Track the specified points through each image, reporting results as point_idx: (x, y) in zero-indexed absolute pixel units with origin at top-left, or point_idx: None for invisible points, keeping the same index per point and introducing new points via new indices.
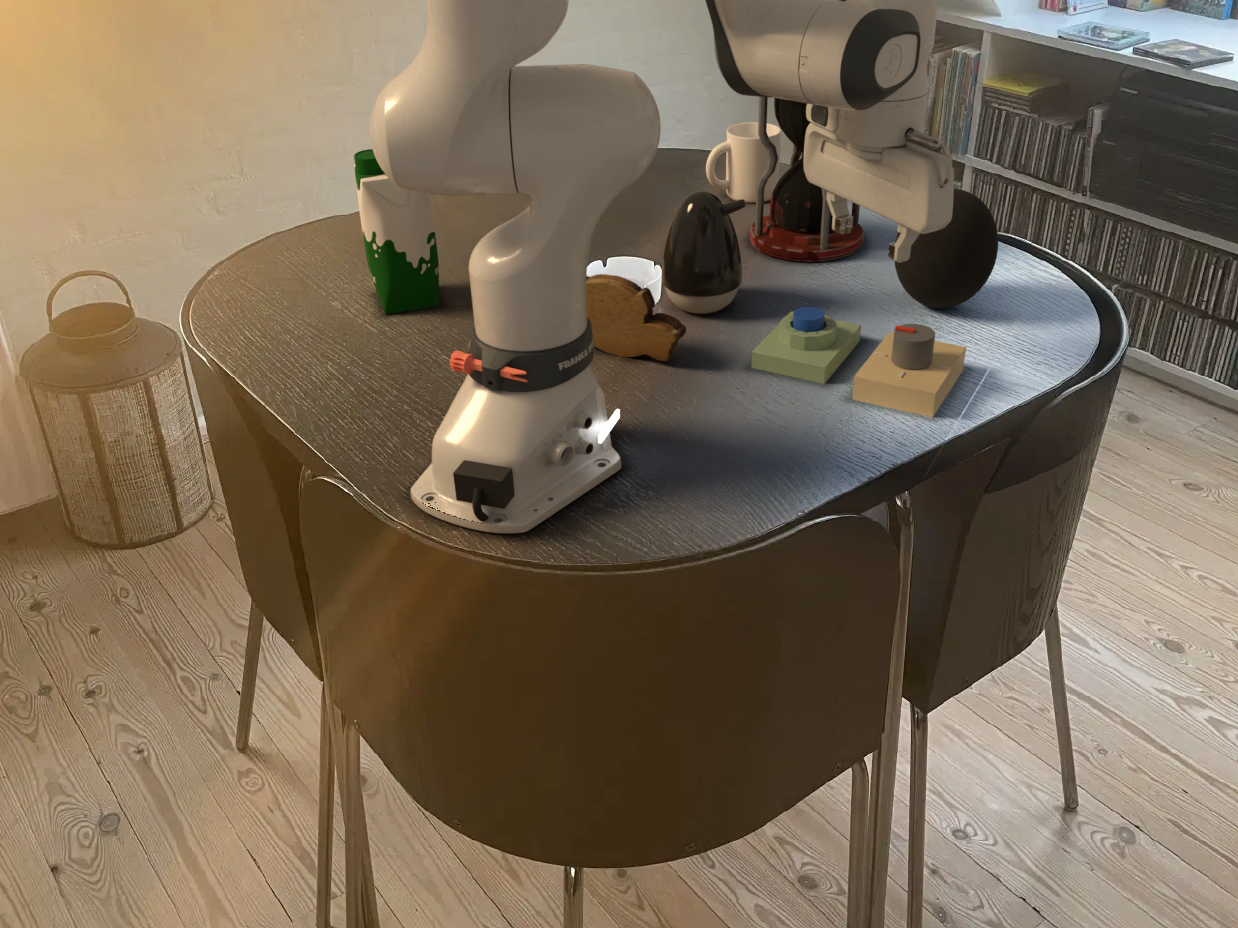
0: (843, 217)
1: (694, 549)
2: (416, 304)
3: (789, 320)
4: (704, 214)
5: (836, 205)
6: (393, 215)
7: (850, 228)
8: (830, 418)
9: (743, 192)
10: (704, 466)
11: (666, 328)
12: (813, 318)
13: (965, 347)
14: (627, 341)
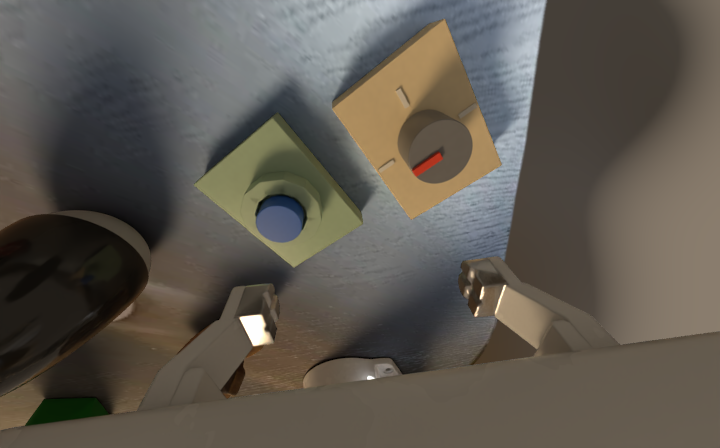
0: (256, 334)
1: (479, 348)
2: (99, 411)
3: None
4: (9, 382)
5: (221, 373)
6: None
7: (270, 291)
8: (418, 237)
9: None
10: (416, 326)
11: (261, 347)
12: (297, 227)
13: (445, 22)
14: None
